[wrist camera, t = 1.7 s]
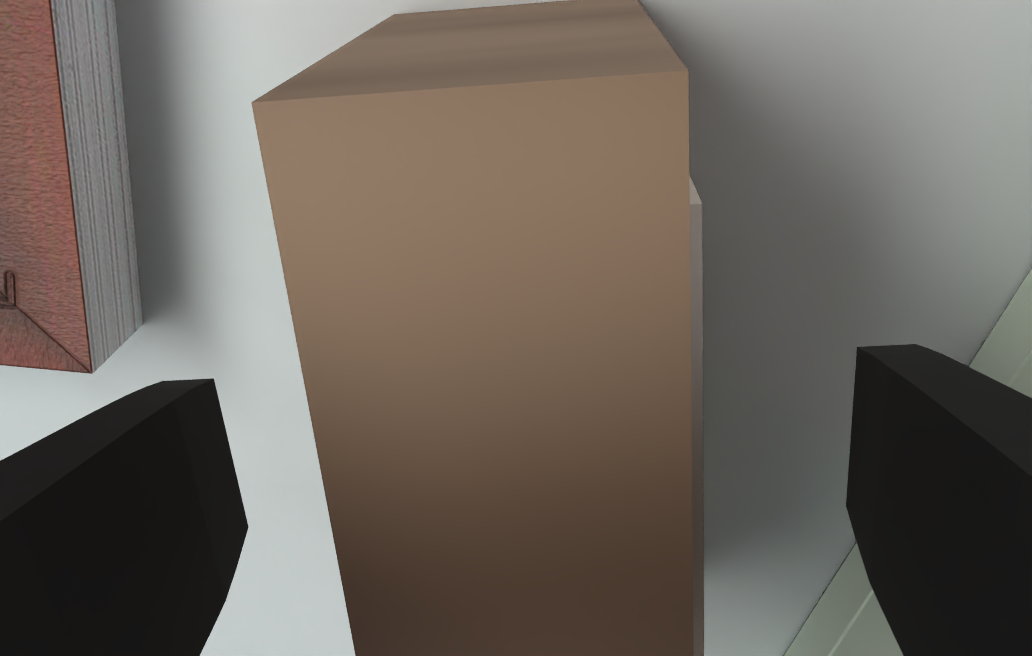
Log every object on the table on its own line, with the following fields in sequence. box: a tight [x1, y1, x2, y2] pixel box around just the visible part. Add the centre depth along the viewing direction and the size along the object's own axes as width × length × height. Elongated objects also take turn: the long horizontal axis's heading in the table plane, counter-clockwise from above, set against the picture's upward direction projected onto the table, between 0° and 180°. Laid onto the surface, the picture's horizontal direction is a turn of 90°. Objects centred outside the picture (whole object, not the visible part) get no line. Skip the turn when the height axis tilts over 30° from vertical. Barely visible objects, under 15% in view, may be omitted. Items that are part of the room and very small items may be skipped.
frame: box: [252, 0, 704, 656], centre depth 11 cm, size 9×3×6 cm, turn 5°
